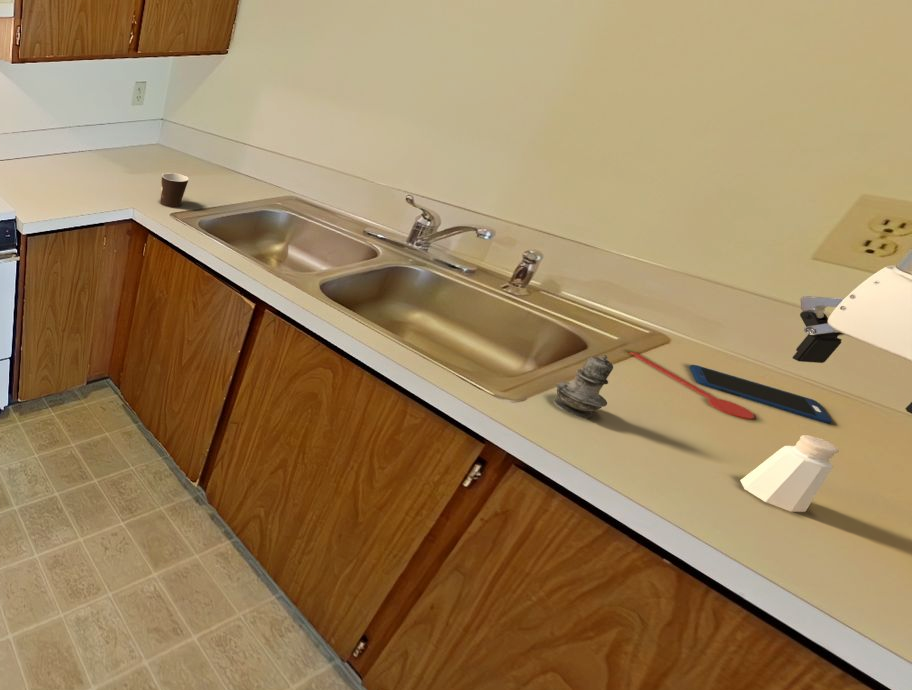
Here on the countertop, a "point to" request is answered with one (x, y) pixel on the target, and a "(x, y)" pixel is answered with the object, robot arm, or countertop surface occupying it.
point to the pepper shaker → (792, 474)
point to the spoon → (706, 394)
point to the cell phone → (760, 393)
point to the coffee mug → (173, 189)
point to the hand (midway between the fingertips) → (860, 385)
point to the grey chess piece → (585, 388)
